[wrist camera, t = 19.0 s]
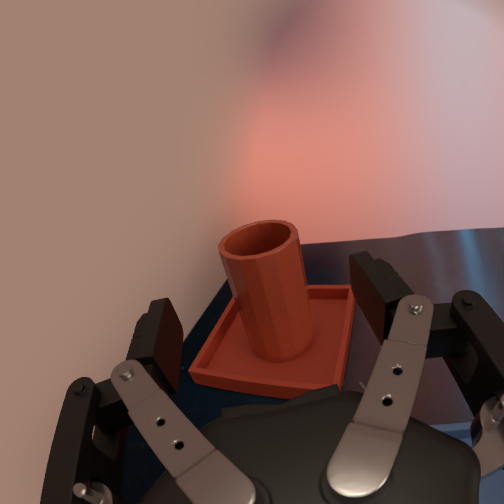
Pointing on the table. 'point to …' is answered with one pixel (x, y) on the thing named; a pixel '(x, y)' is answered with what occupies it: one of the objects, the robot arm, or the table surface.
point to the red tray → (280, 373)
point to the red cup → (270, 288)
